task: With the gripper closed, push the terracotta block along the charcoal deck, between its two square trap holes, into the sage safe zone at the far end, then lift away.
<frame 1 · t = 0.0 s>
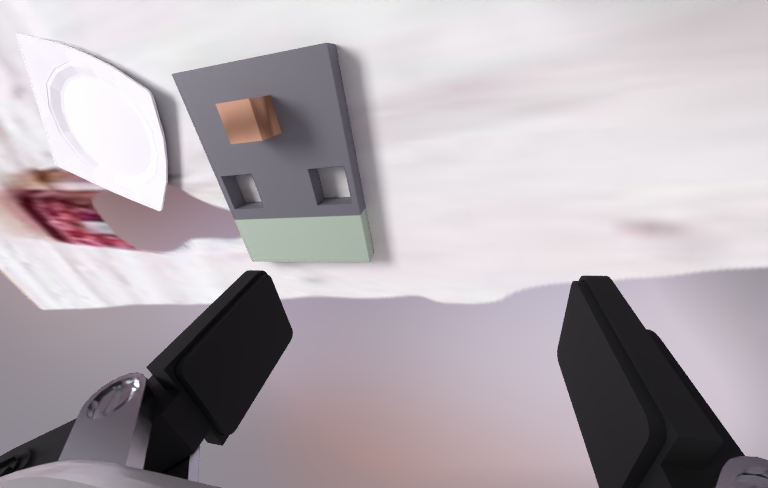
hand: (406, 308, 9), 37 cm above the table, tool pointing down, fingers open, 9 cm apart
plate: (113, 129, 53), on the table
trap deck: (289, 171, 49), on the table
terracotta block: (261, 116, 42), point 3 cm above the table, touching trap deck
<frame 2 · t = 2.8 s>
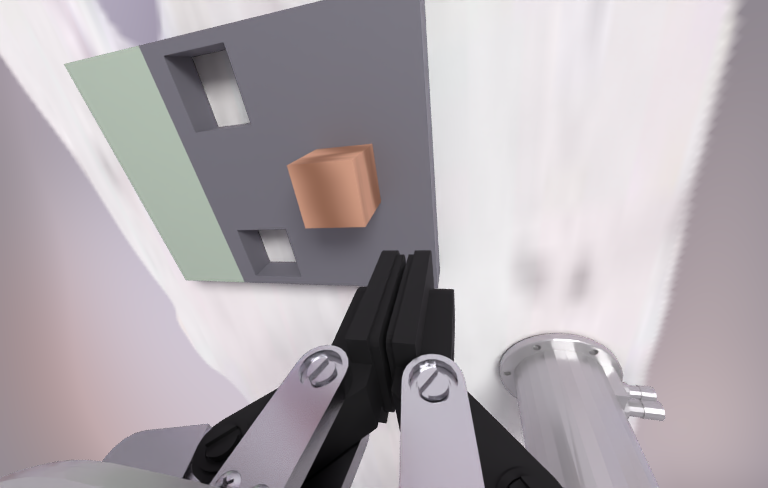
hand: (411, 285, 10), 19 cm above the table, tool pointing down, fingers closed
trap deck: (277, 173, 31), on the table
terracotta block: (349, 176, 26), point 3 cm above the table, touching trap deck
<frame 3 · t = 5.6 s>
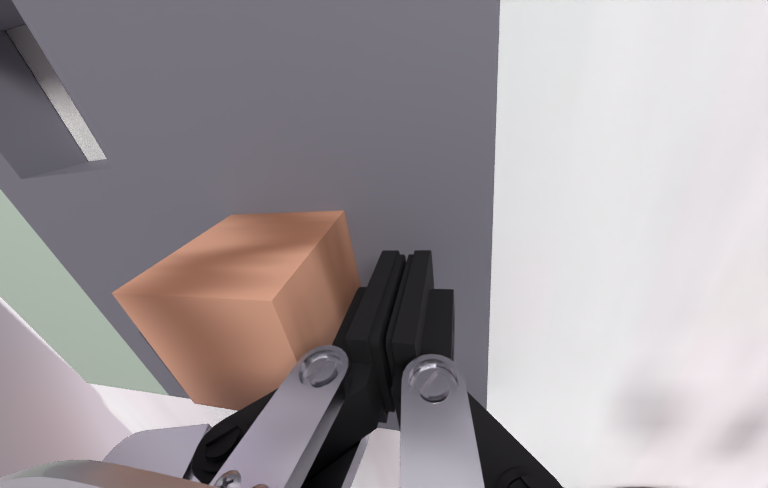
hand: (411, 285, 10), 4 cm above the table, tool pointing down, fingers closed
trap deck: (200, 238, 18), on the table
terracotta block: (302, 265, 13), point 3 cm above the table, touching gripper
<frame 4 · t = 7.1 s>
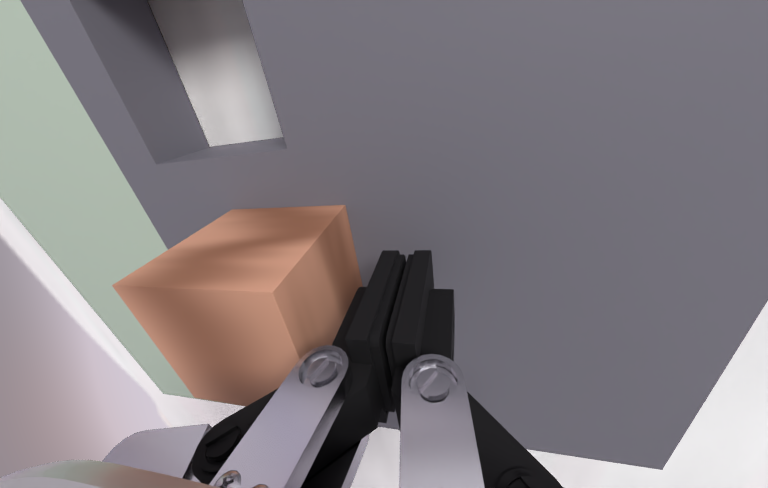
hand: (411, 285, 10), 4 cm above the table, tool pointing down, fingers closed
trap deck: (328, 234, 15), on the table
terracotta block: (302, 260, 13), point 3 cm above the table, touching gripper
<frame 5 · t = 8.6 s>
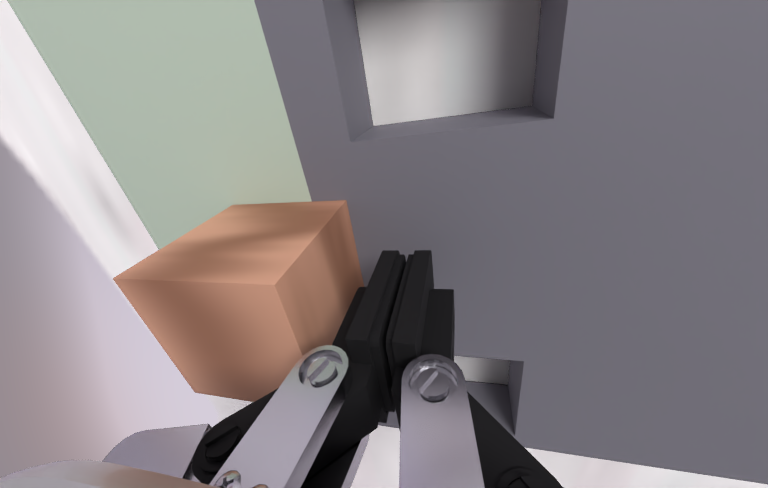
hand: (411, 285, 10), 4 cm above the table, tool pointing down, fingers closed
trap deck: (497, 229, 13), on the table
terracotta block: (303, 256, 13), point 3 cm above the table, touching gripper
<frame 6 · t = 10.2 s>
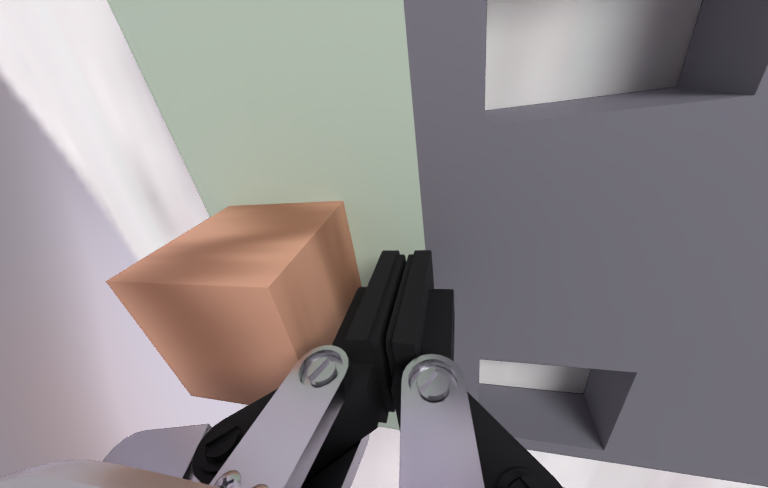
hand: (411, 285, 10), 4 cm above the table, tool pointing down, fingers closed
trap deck: (605, 227, 12), on the table
terracotta block: (300, 257, 13), point 3 cm above the table, touching gripper, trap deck
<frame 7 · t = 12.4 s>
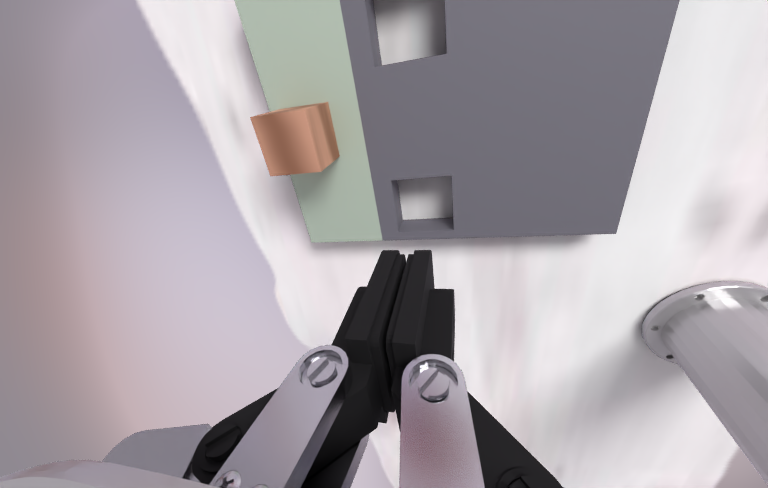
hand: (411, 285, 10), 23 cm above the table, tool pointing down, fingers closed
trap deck: (439, 116, 29), on the table
terracotta block: (310, 133, 29), point 3 cm above the table, touching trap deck
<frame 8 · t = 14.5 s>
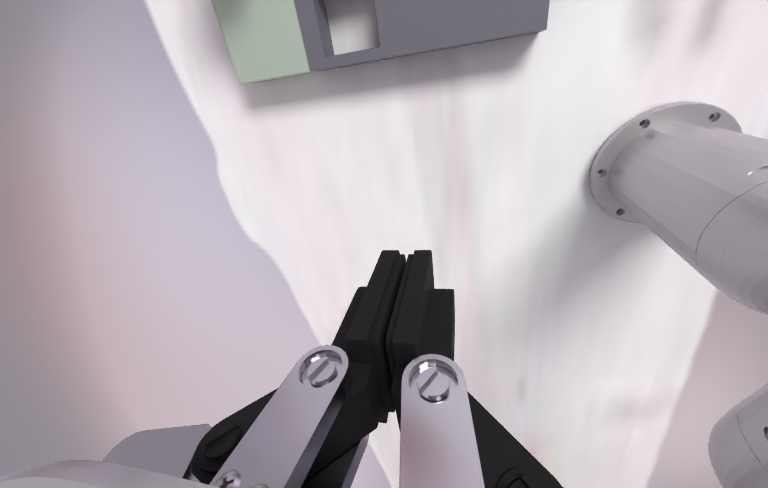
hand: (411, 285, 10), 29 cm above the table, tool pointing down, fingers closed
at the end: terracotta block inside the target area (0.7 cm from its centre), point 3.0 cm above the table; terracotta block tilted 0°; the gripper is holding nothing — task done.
